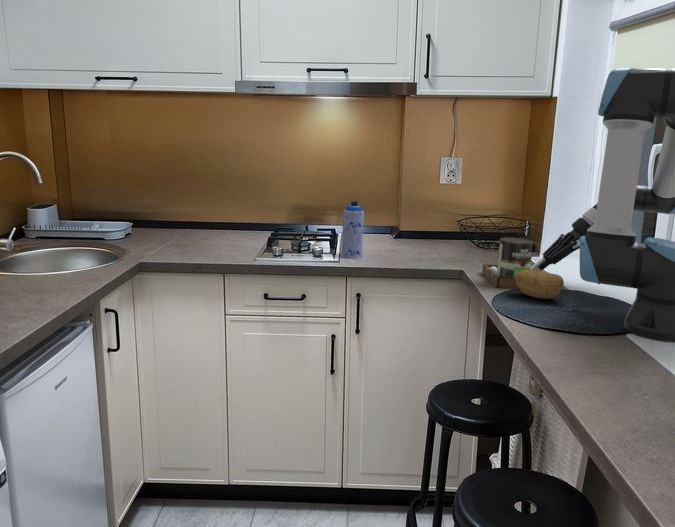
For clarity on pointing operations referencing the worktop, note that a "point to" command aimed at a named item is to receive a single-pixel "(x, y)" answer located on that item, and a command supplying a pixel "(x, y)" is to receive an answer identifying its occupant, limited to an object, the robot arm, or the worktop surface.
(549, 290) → the potato
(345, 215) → the aerosol can
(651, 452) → the worktop surface
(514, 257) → the coffee can
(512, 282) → the tray frame
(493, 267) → the pebble
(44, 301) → the worktop surface
